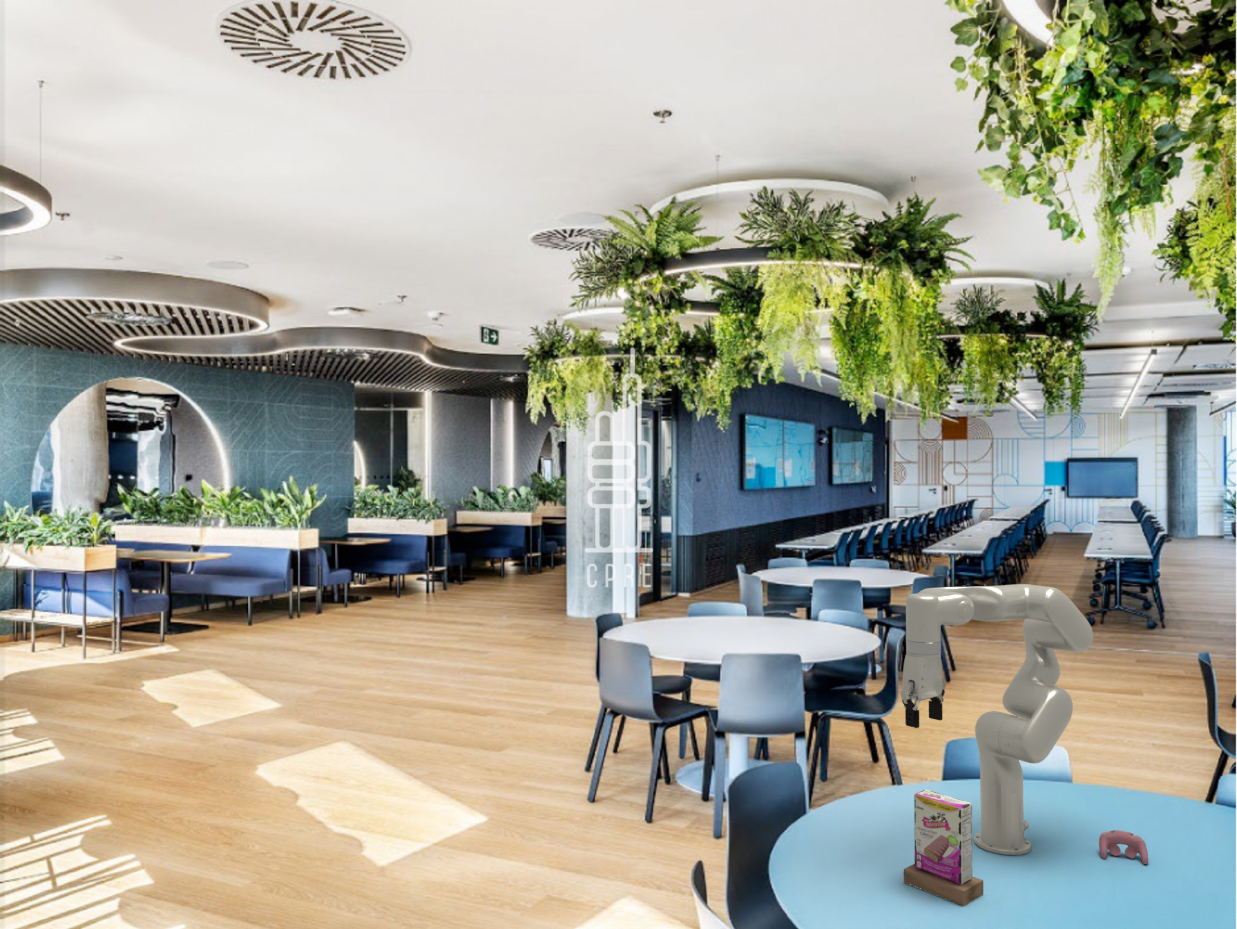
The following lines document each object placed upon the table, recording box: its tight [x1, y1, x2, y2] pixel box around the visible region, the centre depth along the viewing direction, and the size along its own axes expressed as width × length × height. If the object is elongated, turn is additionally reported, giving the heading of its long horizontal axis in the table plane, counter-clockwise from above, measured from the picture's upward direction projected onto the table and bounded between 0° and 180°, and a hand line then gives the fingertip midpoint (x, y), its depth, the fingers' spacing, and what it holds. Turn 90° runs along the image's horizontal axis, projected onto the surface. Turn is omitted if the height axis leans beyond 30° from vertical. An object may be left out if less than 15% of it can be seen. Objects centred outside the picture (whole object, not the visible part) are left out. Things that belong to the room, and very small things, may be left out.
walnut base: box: [903, 863, 984, 907], centre depth 192 cm, size 8×14×3 cm, turn 40°
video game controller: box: [1098, 829, 1149, 865], centre depth 208 cm, size 10×5×7 cm, turn 67°
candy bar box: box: [913, 789, 973, 885], centre depth 192 cm, size 11×5×16 cm, turn 40°
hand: (924, 722), depth 205 cm, fingers open, 9 cm apart
